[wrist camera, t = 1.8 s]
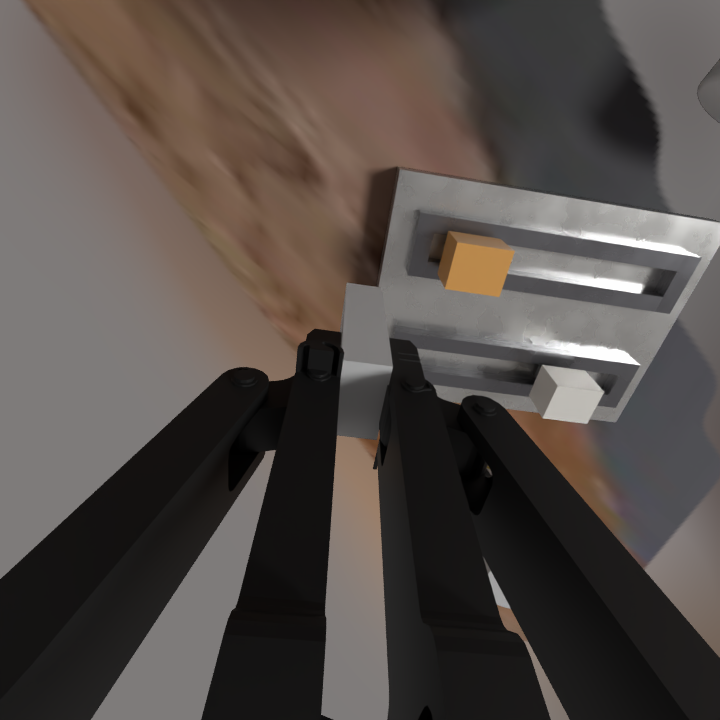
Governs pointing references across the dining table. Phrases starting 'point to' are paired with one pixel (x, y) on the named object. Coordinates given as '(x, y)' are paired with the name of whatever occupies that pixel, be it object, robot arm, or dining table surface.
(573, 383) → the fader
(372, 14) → the dining table surface
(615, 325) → the console
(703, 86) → the mug
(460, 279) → the block
